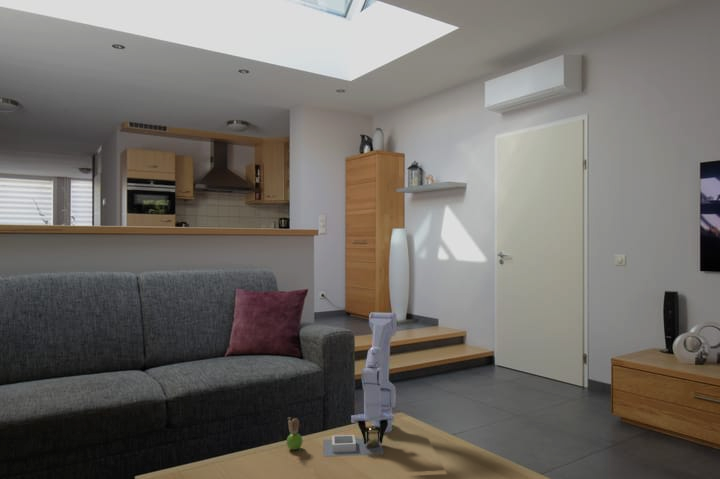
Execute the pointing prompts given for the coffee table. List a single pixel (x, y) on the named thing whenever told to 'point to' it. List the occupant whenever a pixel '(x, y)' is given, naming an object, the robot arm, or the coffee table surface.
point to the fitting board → (348, 446)
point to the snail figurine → (294, 435)
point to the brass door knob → (372, 436)
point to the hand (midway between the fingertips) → (372, 442)
